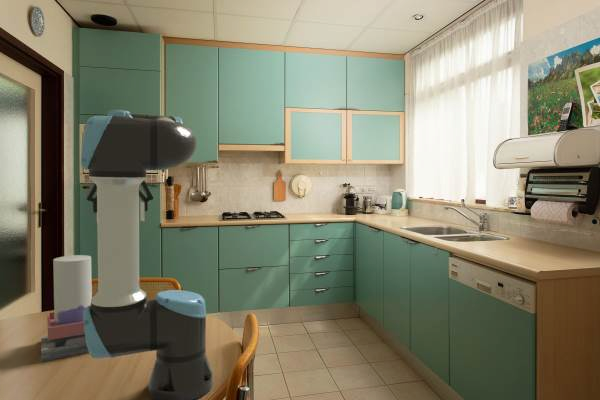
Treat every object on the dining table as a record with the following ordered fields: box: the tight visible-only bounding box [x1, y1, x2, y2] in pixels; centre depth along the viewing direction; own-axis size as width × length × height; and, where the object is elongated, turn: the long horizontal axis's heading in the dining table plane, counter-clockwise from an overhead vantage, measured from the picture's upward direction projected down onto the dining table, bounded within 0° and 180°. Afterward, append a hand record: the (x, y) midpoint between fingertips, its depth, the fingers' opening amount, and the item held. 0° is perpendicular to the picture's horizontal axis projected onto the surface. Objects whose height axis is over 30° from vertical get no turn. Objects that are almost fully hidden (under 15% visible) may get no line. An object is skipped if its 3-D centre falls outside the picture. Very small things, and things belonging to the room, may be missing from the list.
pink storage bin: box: [46, 311, 85, 346], centre depth 123 cm, size 15×15×6 cm
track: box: [40, 334, 90, 363], centre depth 127 cm, size 17×33×2 cm, turn 123°
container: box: [52, 254, 93, 326], centre depth 121 cm, size 10×10×20 cm
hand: (121, 221), depth 134 cm, fingers open, 13 cm apart
